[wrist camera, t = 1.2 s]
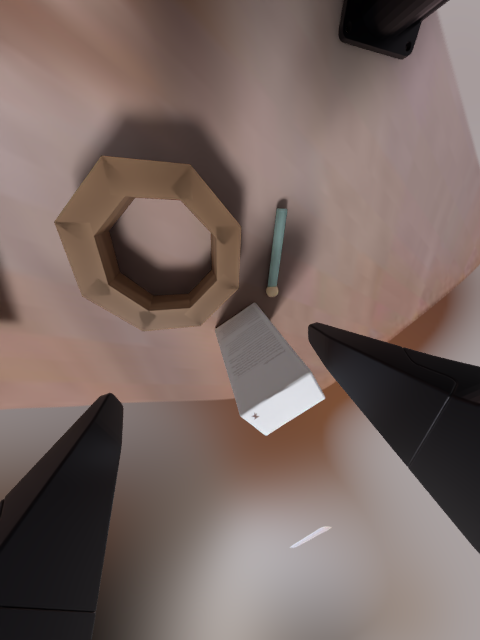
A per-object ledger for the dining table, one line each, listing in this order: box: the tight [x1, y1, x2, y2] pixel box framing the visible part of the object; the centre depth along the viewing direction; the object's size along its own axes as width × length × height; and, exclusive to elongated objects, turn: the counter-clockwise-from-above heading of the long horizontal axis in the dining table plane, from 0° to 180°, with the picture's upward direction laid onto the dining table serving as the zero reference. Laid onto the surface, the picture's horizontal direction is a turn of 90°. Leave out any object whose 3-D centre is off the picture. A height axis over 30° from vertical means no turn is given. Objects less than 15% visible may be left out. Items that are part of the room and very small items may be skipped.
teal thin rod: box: [266, 209, 287, 297], centre depth 21 cm, size 9×1×1 cm, turn 178°
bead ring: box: [54, 156, 241, 331], centre depth 17 cm, size 12×12×4 cm
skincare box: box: [215, 303, 325, 436], centre depth 20 cm, size 6×4×12 cm
